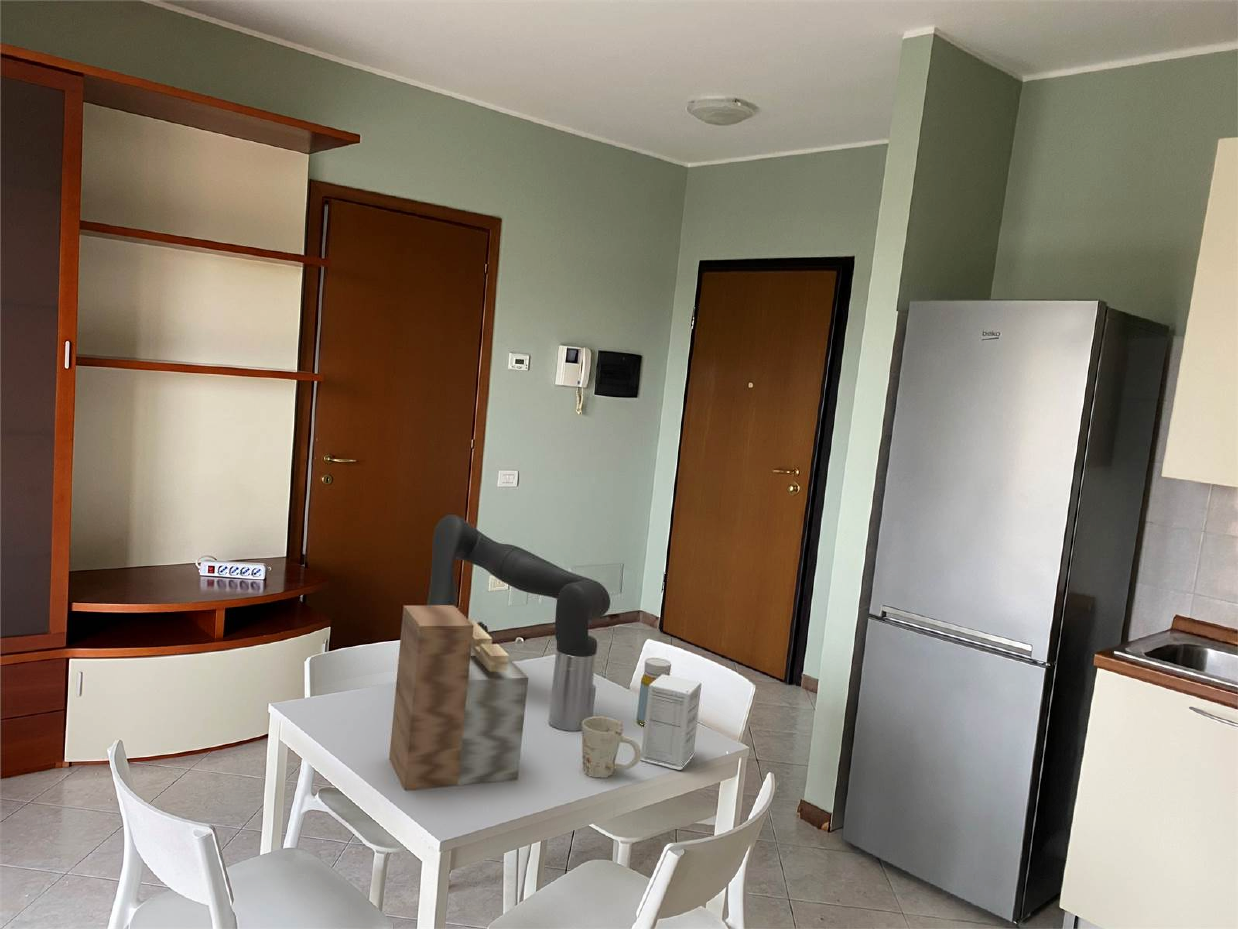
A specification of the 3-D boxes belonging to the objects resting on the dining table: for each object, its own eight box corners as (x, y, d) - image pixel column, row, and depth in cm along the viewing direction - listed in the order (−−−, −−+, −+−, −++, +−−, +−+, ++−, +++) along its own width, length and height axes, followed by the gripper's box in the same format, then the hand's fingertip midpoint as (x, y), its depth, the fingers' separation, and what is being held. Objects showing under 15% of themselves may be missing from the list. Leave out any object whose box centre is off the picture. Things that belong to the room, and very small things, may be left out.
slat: (471, 633, 193) (473, 619, 192) (507, 670, 171) (508, 655, 171) (455, 633, 191) (457, 619, 191) (489, 671, 170) (491, 656, 169)
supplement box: (694, 757, 197) (703, 682, 195) (681, 772, 188) (691, 694, 187) (653, 746, 200) (662, 672, 199) (638, 761, 192) (648, 684, 190)
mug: (581, 760, 189) (586, 714, 188) (640, 770, 187) (646, 723, 186) (573, 776, 180) (578, 728, 179) (635, 787, 179) (641, 738, 178)
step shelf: (495, 750, 189) (510, 605, 186) (517, 779, 176) (534, 624, 173) (389, 758, 179) (403, 605, 176) (404, 790, 167) (420, 626, 164)
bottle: (663, 731, 210) (670, 668, 208) (633, 725, 211) (641, 663, 210) (667, 721, 217) (675, 660, 215) (639, 715, 218) (646, 655, 217)
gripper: (417, 628, 200) (437, 609, 185) (478, 627, 206) (503, 608, 192) (418, 662, 197) (438, 645, 183) (480, 660, 203) (505, 644, 189)
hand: (471, 626), depth 187 cm, fingers closed on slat, 3 cm apart
